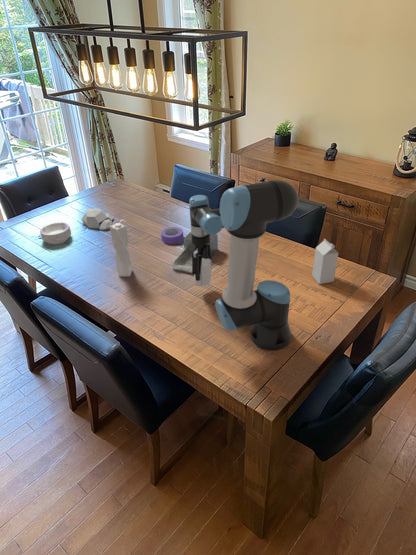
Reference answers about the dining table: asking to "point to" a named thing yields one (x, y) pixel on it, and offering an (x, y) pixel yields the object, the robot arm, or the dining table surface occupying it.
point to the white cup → (206, 271)
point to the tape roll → (176, 235)
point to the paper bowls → (55, 233)
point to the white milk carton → (325, 262)
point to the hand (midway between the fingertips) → (202, 280)
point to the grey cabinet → (185, 256)
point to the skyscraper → (121, 248)
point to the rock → (97, 219)
